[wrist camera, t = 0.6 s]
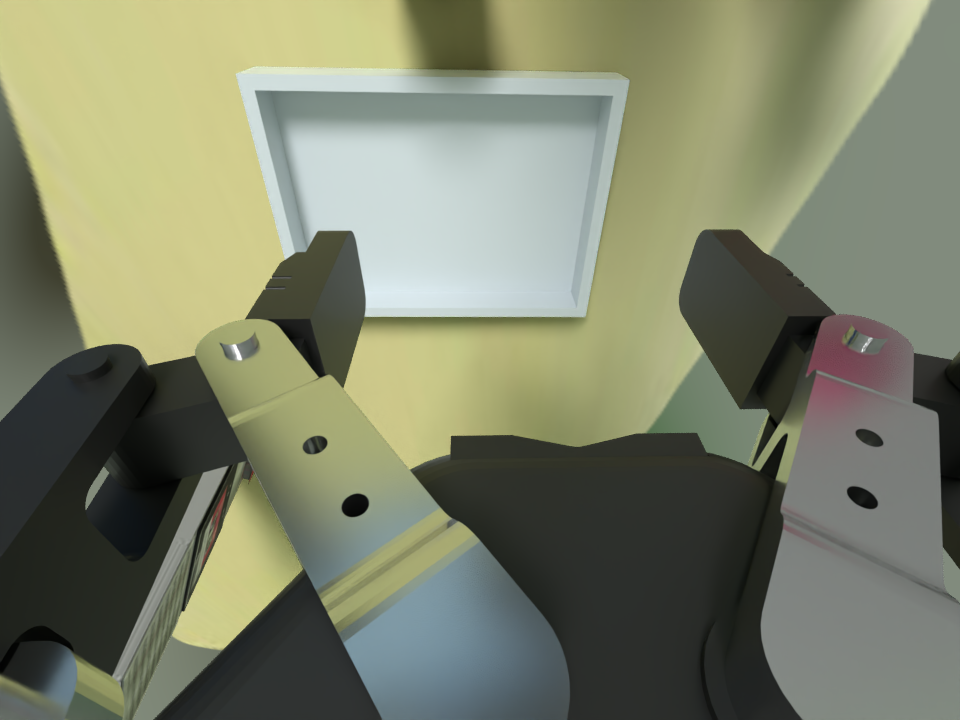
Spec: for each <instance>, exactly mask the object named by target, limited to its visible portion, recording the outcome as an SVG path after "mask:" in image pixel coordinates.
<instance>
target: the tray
mask: <svg viewBox="0 0 960 720" xmlns="http://www.w3.org/2000/svg"><path fill="white" fill-rule="evenodd" d="M236 76H237V80H238V84H239V88H240V91H241V95H242V99H243V103H244V107H245V110H246V114H247V118H248V122H249V125H250V129H251V133H252V137H253V140H254V144H255V148H256V152H257V155H258V159H259V163H260V167H261V171H262V174H263V178H264V182H265V186H266V189H267V193H268V197H269V201H270V204H271V208H272V212H273V216H274V219H275V223H276V227H277V231H278V235H279V238H280V242H281V246H282V250H283V253H284V257H285V260H286V259H287V258H289V257H290V256H291V255H293V254H294V253H296V252H306V251H307V249H308V247H309V245H310V243H311V242H312V240H313V238H314V236H315V235H316V233H317V231H352V232H353V233H354V236H355V239H356V244H357V249H358V255H359V260H360V266H361V272H362V277H363V283H364V288H365V297H366V309H365V316H364V317H586V311H587V306H588V301H589V295H590V290H591V285H592V279H593V274H594V269H595V263H596V258H597V253H598V247H599V242H600V237H601V231H602V226H603V221H604V215H605V210H606V205H607V199H608V194H609V189H610V183H611V178H612V173H613V167H614V162H615V157H616V151H617V146H618V141H619V135H620V130H621V125H622V119H623V114H624V109H625V103H626V98H627V93H628V87H629V82H630V80H629V79H628V78H626V77H624V76H622V75H620V74H619V73H617V72H567V71H506V70H445V69H383V68H322V67H261V66H255V67H252V68H249V69H247V70H244V71H241V72H239V73H236Z"/></svg>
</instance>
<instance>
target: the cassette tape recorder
mask: <svg viewBox="0 0 960 720" xmlns="http://www.w3.org/2000/svg"><path fill="white" fill-rule="evenodd" d="M253 473H254V471H253V469H252V467H251V465H250V463H249V462H248V461H245V462H241V463H237V464H233V465H230V466H226V467H222V468H219V469H215V470H211V471H208V472H204V473H203V474H202V477H201V479H200V481H199V483H198V486H197V488H196V490H195V492H194V494H193V497H192V499H191V501H190V503H189V506H188V508H187V510H186V512H185V515H184V517H183V519H182V521H181V524H180V526H179V528H178V530H177V533H176V535H175V537H174V539H173V541H172V544H171V546H170V548H169V550H168V553H167V555H166V557H165V559H164V562H163V564H162V566H161V568H160V571H159V573H158V575H157V577H156V580H155V582H154V584H153V586H152V589H151V591H150V593H149V595H148V597H147V600H146V602H145V604H144V606H143V609H142V611H141V613H140V615H139V618H138V620H137V622H136V624H135V627H134V629H133V631H132V633H131V636H130V638H129V640H128V642H127V644H126V647H125V649H124V651H123V653H122V656H121V658H120V660H119V662H118V665H117V667H116V669H115V671H114V674H113V676H112V677H113V678H114V679H115V680H116V681H117V682H118V683H119V685H120V687H121V689H122V692H123V696H124V714H123V720H133V719H134V717H135V715H136V712H137V710H138V708H139V706H140V704H141V701H142V699H143V697H144V695H145V693H146V690H147V688H148V686H149V684H150V682H151V679H152V677H153V675H154V673H155V671H156V668H157V666H158V664H159V662H160V660H161V657H162V655H163V653H164V651H165V649H166V646H167V644H168V642H169V640H170V638H171V635H172V633H173V631H174V629H175V627H176V624H177V622H178V619H179V616H180V614H181V612H182V611H185V608H186V606H187V604H188V602H189V600H190V597H191V595H192V593H193V591H194V588H195V586H196V584H197V582H198V580H199V577H200V575H201V573H202V571H203V569H204V566H205V564H206V562H207V560H208V557H209V555H210V553H211V551H212V549H213V546H214V544H215V542H216V540H217V538H218V535H219V533H220V531H221V529H222V526H223V522H224V518H225V516H226V514H227V512H228V510H229V507H230V505H231V503H232V501H233V499H234V496H235V494H236V492H237V490H238V488H239V485H240V483H241V481H242V479H243V478H244V479H248V480H249V482H250V480H251V477H252V475H253Z"/></svg>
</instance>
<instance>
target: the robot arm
mask: <svg viewBox="0 0 960 720" xmlns="http://www.w3.org/2000/svg"><path fill="white" fill-rule="evenodd" d="M679 306H680V311H681V314H682V316H683V317H684V319H685V320H686V322H687V324H688V325H689V327H690V329H691V330H692V332H693V333H694V335H695V337H696V338H697V340H698V342H699V343H700V345H701V347H702V348H703V350H704V351H705V353H706V355H707V356H708V358H709V360H710V361H711V363H712V364H713V366H714V368H715V369H716V371H717V373H718V374H719V376H720V377H721V379H722V381H723V382H724V384H725V386H726V387H727V389H728V390H729V392H730V394H731V395H732V397H733V399H734V400H735V402H736V403H737V405H738V407H739V408H740V409H767V410H768V411H769V413H768V415H767V417H766V418H765V420H764V422H763V423H762V425H761V429H760V431H759V434H758V437H757V440H756V442H755V445H754V448H753V451H752V454H751V456H750V459H749V462H748V465H744V464H743V463H740V462H737V461H735V460H732V459H729V458H726V457H722V456H719V455H715V454H712V453H707V452H706V451H705V449H704V447H703V445H702V443H701V440H700V438H699V436H698V434H697V433H656V434H655V433H654V434H633V435H629V436H625V437H621V438H617V439H612V440H608V441H604V442H600V443H595V444H591V445H587V446H582V447H572V446H566V445H561V444H555V443H550V442H545V441H540V440H534V439H529V438H524V437H519V436H513V435H492V436H451V454H450V455H446V456H442V457H439V458H436V459H433V460H430V461H427V462H425V463H423V464H421V465H418V466H416V467H414V468H412V469H411V470H409V469H408V467H407V466H406V465H405V464H404V463H403V461H402V460H401V459H400V458H399V456H398V455H397V454H396V453H395V452H394V450H393V449H392V448H391V447H390V445H389V444H388V443H387V442H386V441H385V439H384V438H383V437H382V436H381V435H380V433H379V432H378V431H377V430H376V428H375V427H374V426H373V425H372V424H371V422H370V421H369V420H368V419H367V417H366V416H365V415H364V414H363V413H362V411H361V410H360V409H359V408H358V406H357V405H356V404H355V403H354V402H353V400H352V399H351V398H350V397H349V395H348V394H347V393H346V392H345V391H344V389H343V388H344V384H345V381H346V378H347V374H348V371H349V367H350V364H351V361H352V357H353V354H354V350H355V347H356V344H357V340H358V337H359V333H360V330H361V326H362V323H363V320H364V316H365V309H366V297H365V288H364V283H363V277H362V272H361V266H360V260H359V255H358V249H357V244H356V239H355V236H354V233H353V232H352V231H317V233H316V235H315V236H314V238H313V240H312V242H311V243H310V245H309V247H308V249H307V251H306V252H296V253H294V254H293V255H291V256H290V257H289V258H287V259H286V260H284V261H283V262H281V263H280V264H279V266H278V267H277V269H276V271H275V272H274V274H273V275H272V279H270V280H269V282H268V283H267V285H266V290H263V291H262V293H261V295H260V296H259V298H258V299H257V301H256V303H255V304H254V306H253V307H252V309H251V310H250V312H249V314H248V315H247V317H246V318H245V320H240V321H235V322H232V323H228V324H226V325H223V326H221V327H219V328H217V329H215V330H213V331H211V332H210V333H208V334H207V335H206V336H205V337H203V339H202V340H201V341H200V342H199V343H198V345H197V347H196V350H195V355H196V356H191V357H187V358H182V359H178V360H173V361H168V362H163V363H158V364H153V365H149V366H148V365H147V363H146V361H145V360H144V358H143V356H142V355H141V353H140V352H139V350H138V349H136V348H134V347H132V346H129V345H123V344H111V345H103V346H98V347H94V348H90V349H87V350H84V351H81V352H79V353H76V354H74V355H72V356H70V357H68V358H66V359H64V360H62V361H61V362H59V363H58V364H56V365H55V366H54V367H52V368H51V369H50V370H49V371H48V372H47V373H46V374H45V375H44V376H43V377H42V378H41V379H40V380H39V381H38V382H37V383H36V384H35V385H34V386H33V387H32V389H31V390H30V391H29V392H28V393H27V394H26V395H25V396H24V397H23V398H22V399H21V400H20V401H19V403H18V404H17V405H15V407H14V408H13V409H12V410H11V411H10V412H9V413H8V414H7V415H6V416H5V417H4V418H3V419H2V420H1V422H0V720H123V714H124V696H123V692H122V689H121V687H120V685H119V683H118V682H117V681H116V680H115V679H114V678H113V677H112V676H113V674H114V671H115V669H116V667H117V665H118V662H119V660H120V658H121V656H122V653H123V651H124V649H125V647H126V644H127V642H128V640H129V638H130V636H131V633H132V631H133V629H134V627H135V624H136V622H137V620H138V618H139V615H140V613H141V611H142V609H143V606H144V604H145V602H146V600H147V597H148V595H149V593H150V591H151V589H152V586H153V584H154V582H155V580H156V577H157V575H158V573H159V571H160V568H161V566H162V564H163V562H164V559H165V557H166V555H167V553H168V550H169V548H170V546H171V544H172V541H173V539H174V537H175V535H176V533H177V530H178V528H179V526H180V524H181V521H182V519H183V517H184V515H185V512H186V510H187V508H188V506H189V503H190V501H191V499H192V497H193V494H194V492H195V490H196V488H197V486H198V483H199V481H200V479H201V477H202V474H203V473H204V472H208V471H211V470H215V469H219V468H222V467H226V466H230V465H233V464H237V463H241V462H245V461H248V462H249V463H250V465H251V467H252V469H253V471H254V473H255V475H256V477H257V479H258V481H259V483H260V485H261V487H262V489H263V491H264V493H265V495H266V497H267V499H268V501H269V503H270V505H271V507H272V508H273V510H274V512H275V514H276V516H277V518H278V520H279V522H280V524H281V526H282V528H283V530H284V532H285V534H286V536H287V538H288V540H289V542H290V544H291V546H292V548H293V550H294V552H295V554H296V556H297V558H298V560H299V562H300V563H301V565H302V567H303V570H302V571H301V572H300V573H299V574H298V575H297V576H296V577H295V578H294V579H293V580H292V581H291V582H290V583H289V584H288V585H287V586H286V587H285V588H284V589H283V590H282V591H281V592H280V593H279V594H278V595H277V596H276V597H275V598H274V599H273V600H272V601H271V602H270V603H269V604H268V605H267V606H266V607H265V608H264V609H263V610H262V611H261V612H260V613H259V614H258V615H257V616H256V617H255V618H254V619H253V620H252V621H251V622H250V623H249V624H248V625H247V626H246V627H245V628H244V629H243V630H242V631H241V632H240V633H239V634H238V635H237V636H236V637H235V638H234V639H233V640H232V641H231V642H230V643H229V644H228V645H227V646H226V647H225V648H224V649H223V650H222V652H221V653H220V654H219V655H218V656H217V657H216V658H215V659H214V660H213V661H212V662H211V663H210V664H209V665H208V666H207V667H206V668H205V669H204V670H203V671H202V672H201V673H200V674H199V675H198V676H197V677H196V678H195V679H194V680H193V681H192V682H191V683H190V684H189V685H188V686H187V687H186V688H185V689H184V690H183V691H182V692H181V693H180V694H179V695H178V696H177V697H176V698H175V699H174V700H173V701H172V702H171V703H170V704H169V705H168V706H167V707H166V708H165V709H164V710H163V711H162V712H161V713H160V714H159V715H158V716H157V717H156V718H155V719H154V720H960V603H959V602H958V601H957V600H956V599H955V598H953V597H952V596H951V595H949V593H948V592H947V591H946V588H945V585H944V577H943V576H944V574H943V548H944V549H945V550H946V552H947V553H948V554H949V556H950V557H951V558H952V559H953V561H954V562H955V564H956V565H957V566H958V568H959V569H960V352H959V353H958V354H957V355H956V356H955V357H954V359H953V360H950V359H944V358H939V357H933V356H927V355H922V354H916V353H914V349H913V346H912V344H911V343H910V342H909V341H908V339H907V338H906V337H904V336H903V335H902V334H900V333H899V332H898V331H896V330H894V329H893V328H891V327H889V326H887V325H885V324H882V323H880V322H877V321H875V320H872V319H869V318H865V317H861V316H855V315H847V314H846V315H844V314H839V315H836V314H835V313H834V312H833V311H832V310H831V309H830V308H829V307H828V306H827V305H826V304H825V303H824V302H823V301H822V300H821V299H820V298H818V297H817V296H816V295H815V294H814V293H813V292H812V291H811V290H810V289H809V288H808V287H804V283H803V282H802V281H801V280H799V279H798V278H797V277H795V276H793V273H792V272H791V271H790V270H789V269H788V268H787V267H786V266H784V264H783V263H781V262H780V261H779V260H777V259H775V258H773V257H771V256H769V255H767V254H766V253H764V252H763V251H762V250H761V249H760V248H758V247H757V246H756V245H755V244H754V243H753V242H752V241H751V240H750V239H749V238H748V237H747V236H746V235H745V234H744V233H743V232H742V231H741V230H704V231H702V232H701V233H700V235H699V236H698V238H697V240H696V243H695V246H694V249H693V252H692V255H691V258H690V261H689V264H688V267H687V271H686V274H685V277H684V280H683V283H682V286H681V289H680V294H679ZM103 466H104V467H105V468H106V469H107V471H108V472H109V475H108V476H107V478H106V479H105V481H104V483H103V484H102V486H101V487H100V489H99V491H98V492H97V494H96V495H95V497H94V498H93V500H92V502H91V503H90V505H89V506H88V508H87V510H85V502H86V497H87V493H88V491H89V488H90V487H91V485H92V483H93V481H94V480H95V479H96V477H97V476H98V474H99V473H100V471H101V469H102V468H103Z"/></svg>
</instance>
